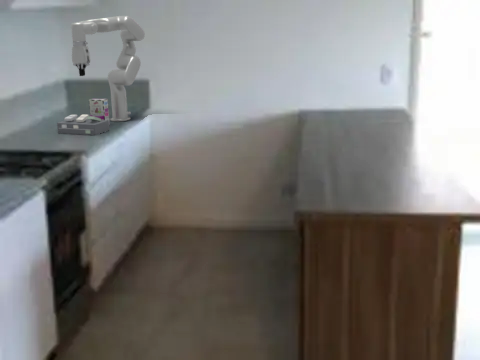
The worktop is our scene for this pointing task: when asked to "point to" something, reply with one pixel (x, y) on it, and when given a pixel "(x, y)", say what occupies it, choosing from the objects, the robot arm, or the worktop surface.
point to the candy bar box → (99, 108)
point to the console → (83, 127)
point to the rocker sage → (93, 118)
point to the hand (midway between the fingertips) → (82, 75)
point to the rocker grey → (71, 117)
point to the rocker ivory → (82, 118)
